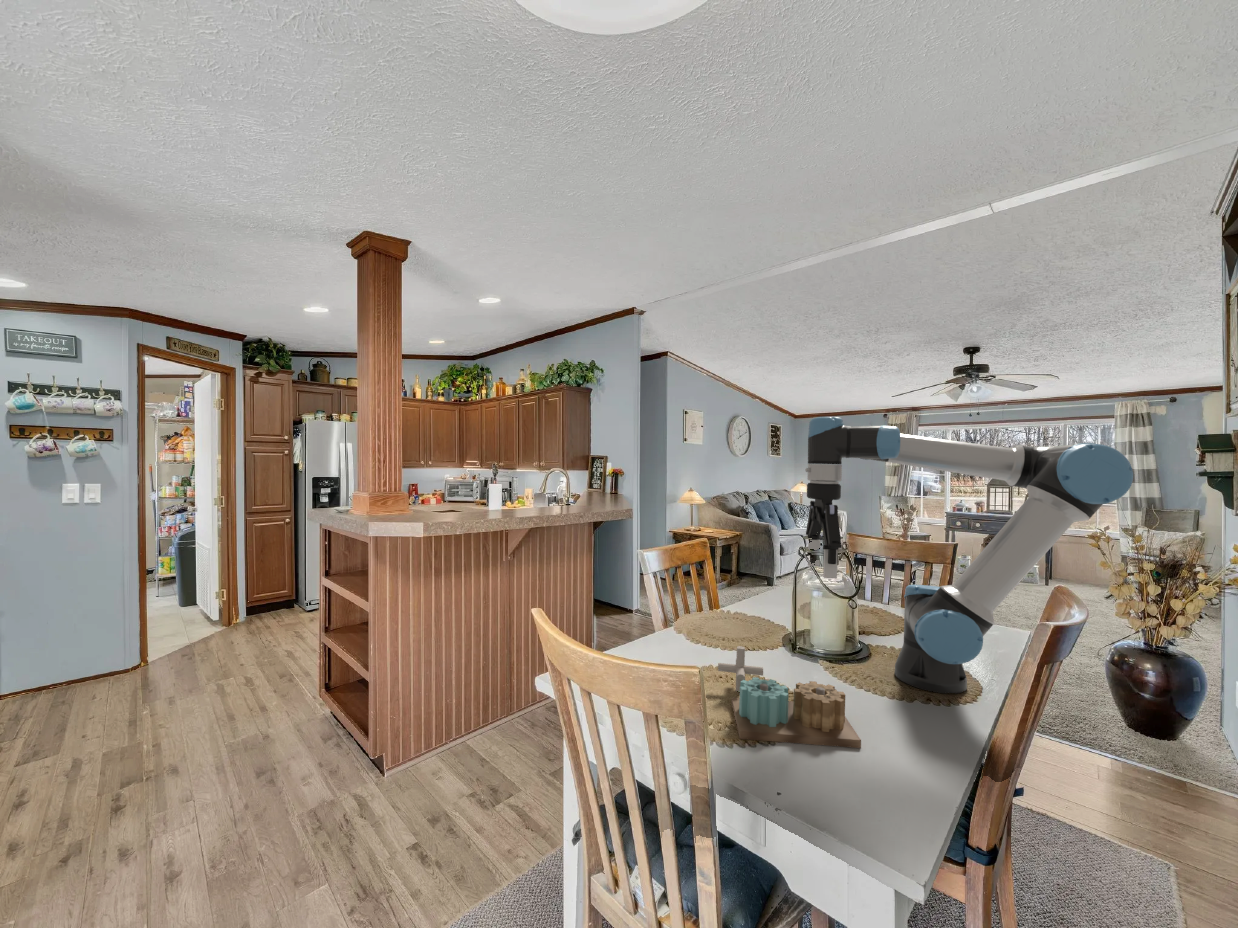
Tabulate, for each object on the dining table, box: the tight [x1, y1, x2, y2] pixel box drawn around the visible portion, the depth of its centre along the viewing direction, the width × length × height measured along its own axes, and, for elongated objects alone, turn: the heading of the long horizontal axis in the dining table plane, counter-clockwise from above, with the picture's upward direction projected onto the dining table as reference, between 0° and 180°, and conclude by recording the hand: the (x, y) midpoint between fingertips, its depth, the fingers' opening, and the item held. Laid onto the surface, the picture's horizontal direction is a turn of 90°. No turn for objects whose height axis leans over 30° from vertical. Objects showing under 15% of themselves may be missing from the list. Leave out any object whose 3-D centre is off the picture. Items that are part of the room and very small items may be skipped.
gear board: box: [730, 684, 862, 749], centre depth 104 cm, size 22×14×8 cm, turn 84°
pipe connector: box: [717, 645, 764, 692], centre depth 118 cm, size 10×10×10 cm
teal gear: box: [739, 676, 789, 727], centre depth 104 cm, size 10×10×6 cm
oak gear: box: [793, 680, 846, 732], centre depth 103 cm, size 10×10×6 cm
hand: (821, 571), depth 123 cm, fingers open, 13 cm apart
